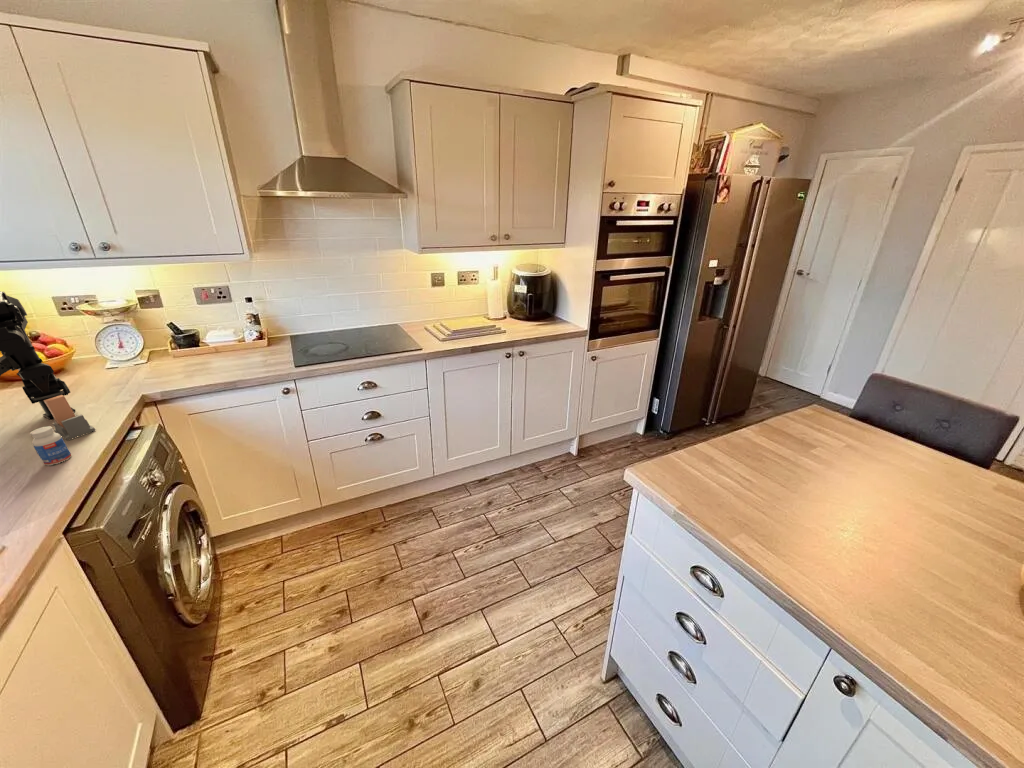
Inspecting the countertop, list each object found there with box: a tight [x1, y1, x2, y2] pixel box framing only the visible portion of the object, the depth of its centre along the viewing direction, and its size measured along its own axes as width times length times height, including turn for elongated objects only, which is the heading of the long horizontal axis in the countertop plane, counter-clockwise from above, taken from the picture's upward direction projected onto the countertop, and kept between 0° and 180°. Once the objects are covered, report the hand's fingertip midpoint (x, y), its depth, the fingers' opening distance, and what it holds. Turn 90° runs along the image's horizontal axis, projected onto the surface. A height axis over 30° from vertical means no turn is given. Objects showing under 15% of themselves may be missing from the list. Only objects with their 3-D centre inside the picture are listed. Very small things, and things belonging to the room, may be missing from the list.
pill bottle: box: [30, 425, 72, 466], centre depth 111 cm, size 6×5×10 cm
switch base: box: [51, 414, 96, 441], centre depth 125 cm, size 10×6×6 cm, turn 62°
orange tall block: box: [44, 395, 76, 430], centre depth 125 cm, size 2×4×10 cm, turn 152°
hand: (46, 392), depth 125 cm, fingers closed
